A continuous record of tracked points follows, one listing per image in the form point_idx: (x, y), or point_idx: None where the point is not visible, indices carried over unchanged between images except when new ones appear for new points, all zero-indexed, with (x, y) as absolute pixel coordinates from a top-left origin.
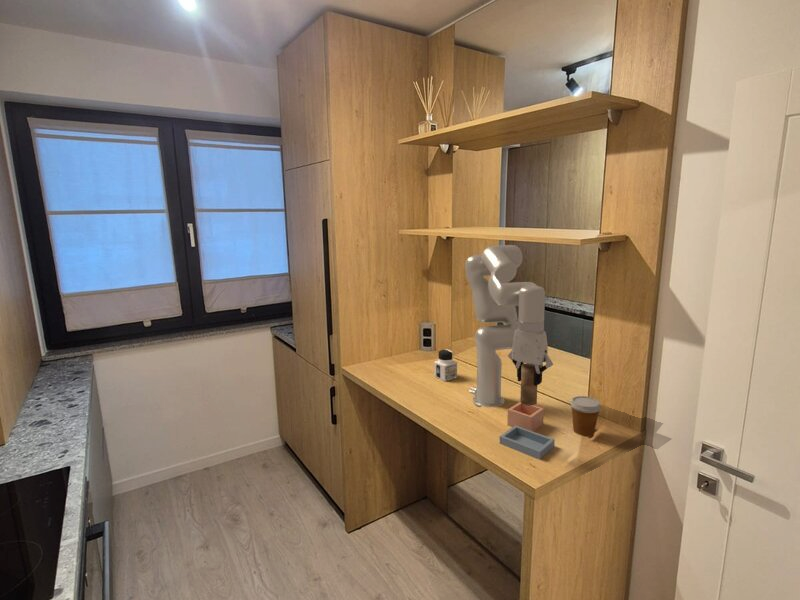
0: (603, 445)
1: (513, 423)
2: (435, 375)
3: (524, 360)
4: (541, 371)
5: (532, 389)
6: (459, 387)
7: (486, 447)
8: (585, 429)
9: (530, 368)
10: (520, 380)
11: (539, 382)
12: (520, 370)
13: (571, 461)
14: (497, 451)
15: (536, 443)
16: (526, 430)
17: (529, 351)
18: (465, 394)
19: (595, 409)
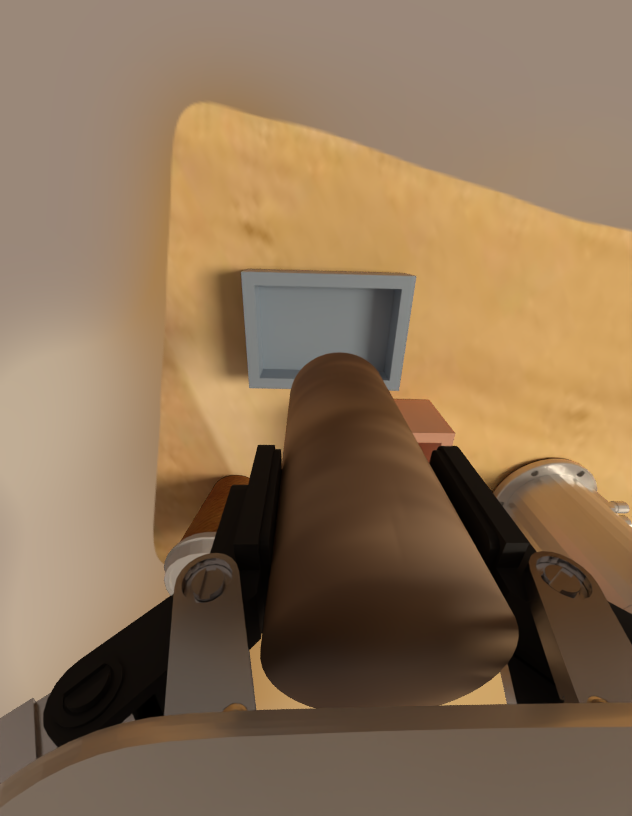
0: (171, 474)
1: (413, 409)
2: None
3: (529, 811)
4: (166, 609)
5: (297, 421)
6: None
7: (442, 230)
8: (214, 494)
9: (331, 602)
10: (432, 460)
11: (233, 485)
12: (485, 543)
13: (182, 345)
14: (396, 233)
15: (304, 359)
16: None
17: None
18: (625, 499)
19: (167, 561)
